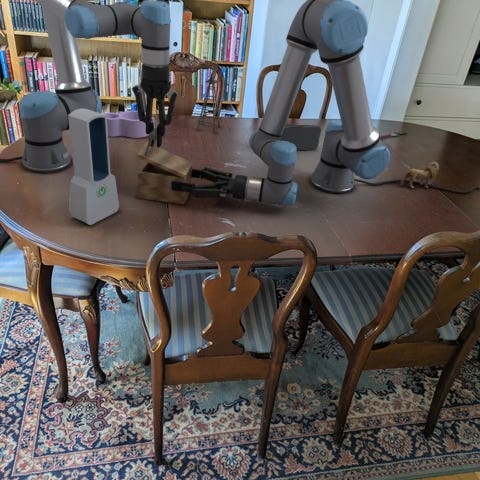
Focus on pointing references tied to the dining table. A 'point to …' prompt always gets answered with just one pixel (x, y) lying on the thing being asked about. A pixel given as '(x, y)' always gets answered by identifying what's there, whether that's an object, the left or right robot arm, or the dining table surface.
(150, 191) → the chest
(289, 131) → the rounded dark grey slab
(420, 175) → the lion figurine
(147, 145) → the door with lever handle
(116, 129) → the purple wavy organizer
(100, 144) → the electronic device
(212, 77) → the miniature windmill
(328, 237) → the dining table surface
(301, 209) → the dining table surface
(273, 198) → the right robot arm
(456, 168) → the dining table surface
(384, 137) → the sword
